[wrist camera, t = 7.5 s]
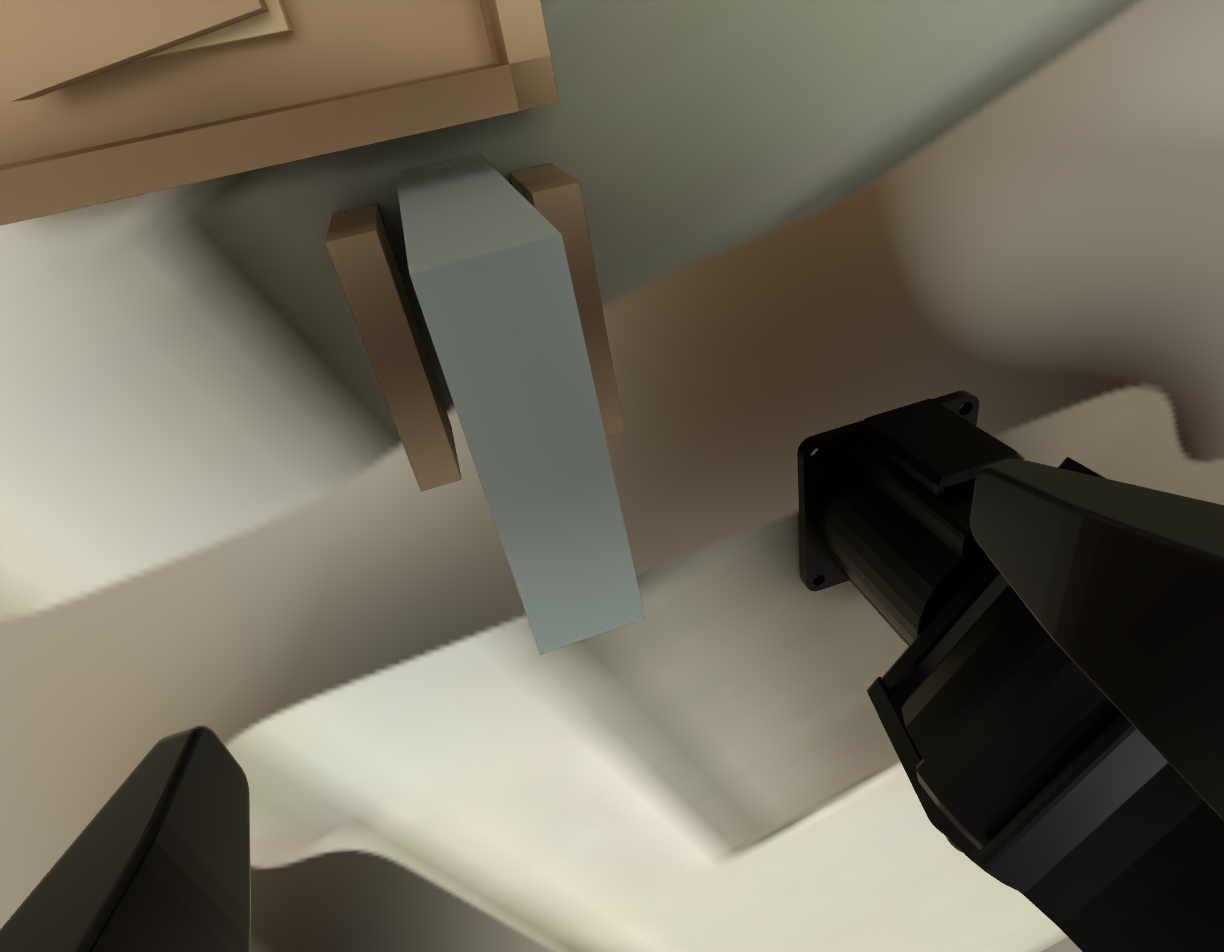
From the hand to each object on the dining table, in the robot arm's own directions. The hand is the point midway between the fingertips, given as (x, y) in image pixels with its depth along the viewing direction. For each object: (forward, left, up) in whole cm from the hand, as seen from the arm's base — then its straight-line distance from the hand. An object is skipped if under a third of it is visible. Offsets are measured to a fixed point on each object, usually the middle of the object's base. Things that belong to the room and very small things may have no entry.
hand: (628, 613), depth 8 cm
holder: (0, 0, -12) cm, 12 cm away
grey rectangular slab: (0, 0, -12) cm, 13 cm away
